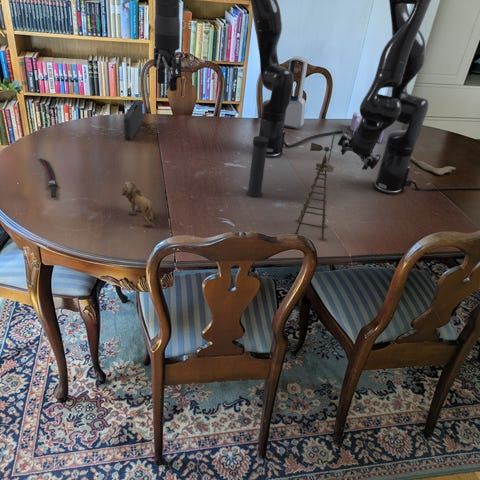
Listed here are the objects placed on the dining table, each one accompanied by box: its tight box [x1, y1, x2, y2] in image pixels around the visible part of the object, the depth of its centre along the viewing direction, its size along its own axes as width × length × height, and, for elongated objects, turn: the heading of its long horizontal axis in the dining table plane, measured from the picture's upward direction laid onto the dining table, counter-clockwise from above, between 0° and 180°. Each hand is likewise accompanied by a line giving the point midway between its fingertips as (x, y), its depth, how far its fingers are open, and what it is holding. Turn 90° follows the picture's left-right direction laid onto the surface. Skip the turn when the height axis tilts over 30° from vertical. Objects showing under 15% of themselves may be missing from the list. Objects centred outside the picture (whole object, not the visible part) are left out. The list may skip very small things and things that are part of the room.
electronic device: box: [284, 55, 309, 130], centre depth 208 cm, size 12×8×30 cm, turn 71°
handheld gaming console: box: [123, 99, 144, 141], centre depth 190 cm, size 23×3×10 cm, turn 178°
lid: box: [252, 135, 268, 147], centre depth 145 cm, size 5×5×2 cm
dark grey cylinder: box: [247, 144, 267, 198], centre depth 150 cm, size 4×4×19 cm
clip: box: [349, 112, 385, 143], centre depth 214 cm, size 20×12×7 cm, turn 11°
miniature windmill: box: [294, 133, 335, 240], centre depth 130 cm, size 9×8×30 cm
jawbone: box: [410, 155, 457, 176], centre depth 188 cm, size 9×20×2 cm, turn 50°
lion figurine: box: [119, 181, 159, 227], centre depth 134 cm, size 15×5×9 cm, turn 50°
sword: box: [40, 158, 59, 198], centre depth 151 cm, size 31×3×1 cm, turn 26°
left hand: (166, 86), depth 148 cm, fingers open, 8 cm apart
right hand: (354, 160), depth 158 cm, fingers open, 8 cm apart
